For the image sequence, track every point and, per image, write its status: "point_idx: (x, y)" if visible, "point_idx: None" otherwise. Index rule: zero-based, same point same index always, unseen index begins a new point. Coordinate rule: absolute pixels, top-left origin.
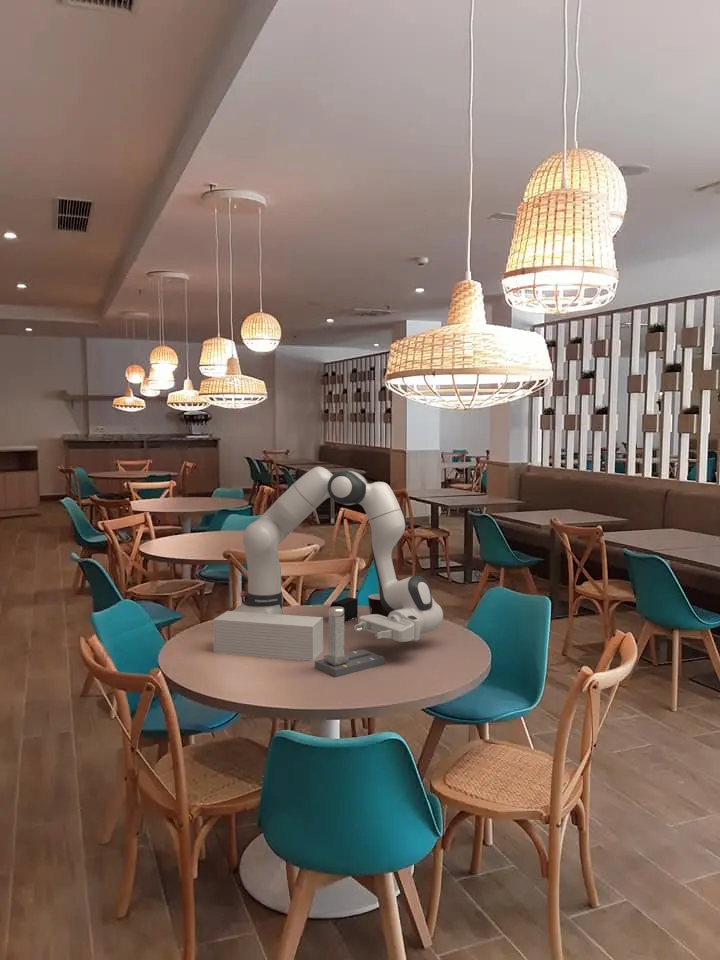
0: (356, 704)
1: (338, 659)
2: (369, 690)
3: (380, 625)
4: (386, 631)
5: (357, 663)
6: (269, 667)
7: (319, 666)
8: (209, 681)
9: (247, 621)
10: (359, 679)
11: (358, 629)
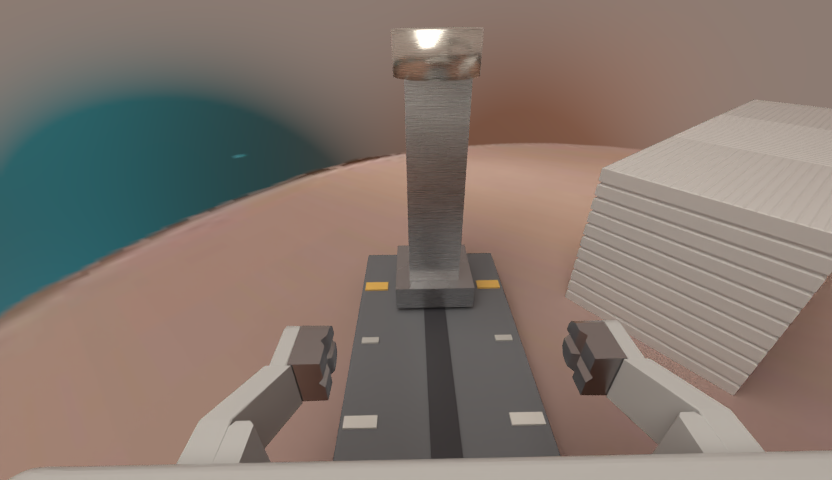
0: (195, 230)
1: (397, 257)
2: (204, 283)
3: (417, 459)
4: (233, 397)
5: (365, 332)
6: (548, 215)
7: None
8: (510, 156)
9: (723, 115)
10: (292, 309)
11: (569, 347)
